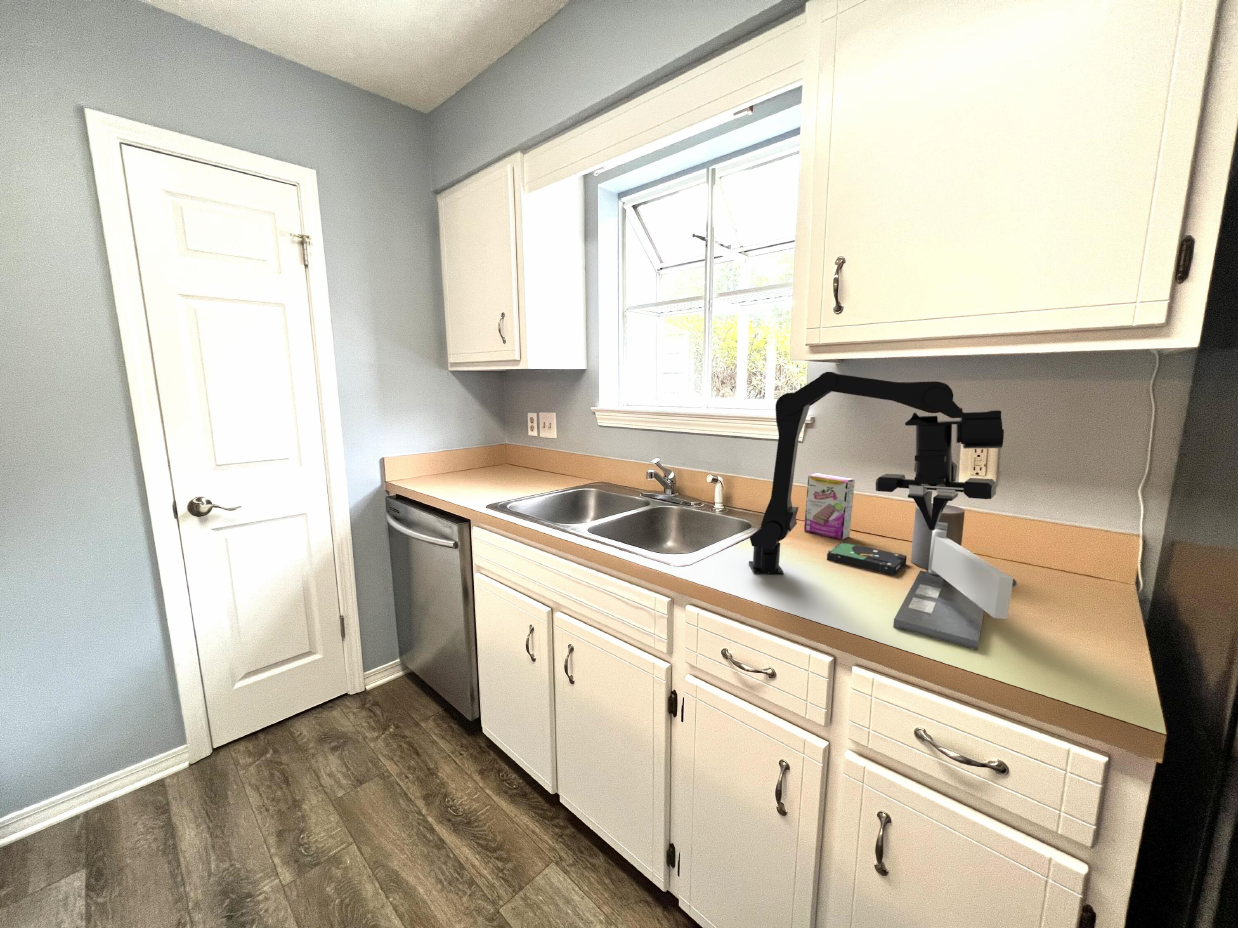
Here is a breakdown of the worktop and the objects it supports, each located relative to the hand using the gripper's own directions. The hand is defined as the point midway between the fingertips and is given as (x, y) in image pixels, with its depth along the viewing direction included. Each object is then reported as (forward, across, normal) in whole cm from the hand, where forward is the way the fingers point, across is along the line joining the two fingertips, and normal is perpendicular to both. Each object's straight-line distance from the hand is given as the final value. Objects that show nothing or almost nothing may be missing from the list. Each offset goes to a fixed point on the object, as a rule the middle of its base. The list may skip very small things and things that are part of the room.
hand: (932, 529), depth 96 cm
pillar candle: (+14, +5, -23) cm, 27 cm away
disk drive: (+14, +16, -13) cm, 25 cm away
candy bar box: (+12, +32, -28) cm, 44 cm away
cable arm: (+12, -6, 0) cm, 13 cm away
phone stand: (+14, -2, +2) cm, 15 cm away
